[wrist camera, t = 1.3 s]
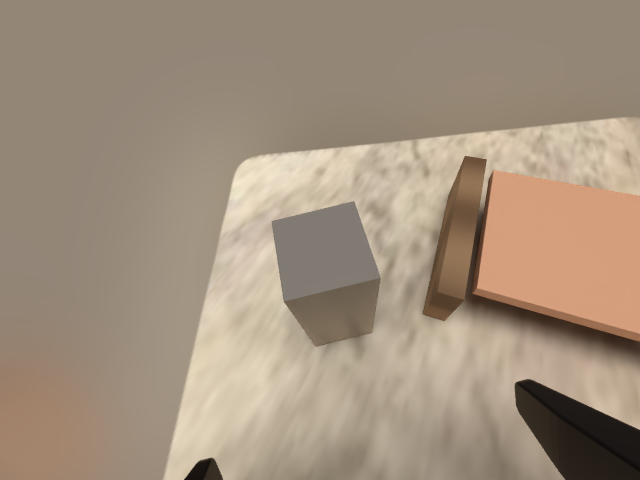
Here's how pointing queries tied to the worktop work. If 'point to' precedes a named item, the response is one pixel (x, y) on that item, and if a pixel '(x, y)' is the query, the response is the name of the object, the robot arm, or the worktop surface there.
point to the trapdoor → (562, 252)
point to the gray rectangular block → (327, 272)
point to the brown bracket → (456, 241)
